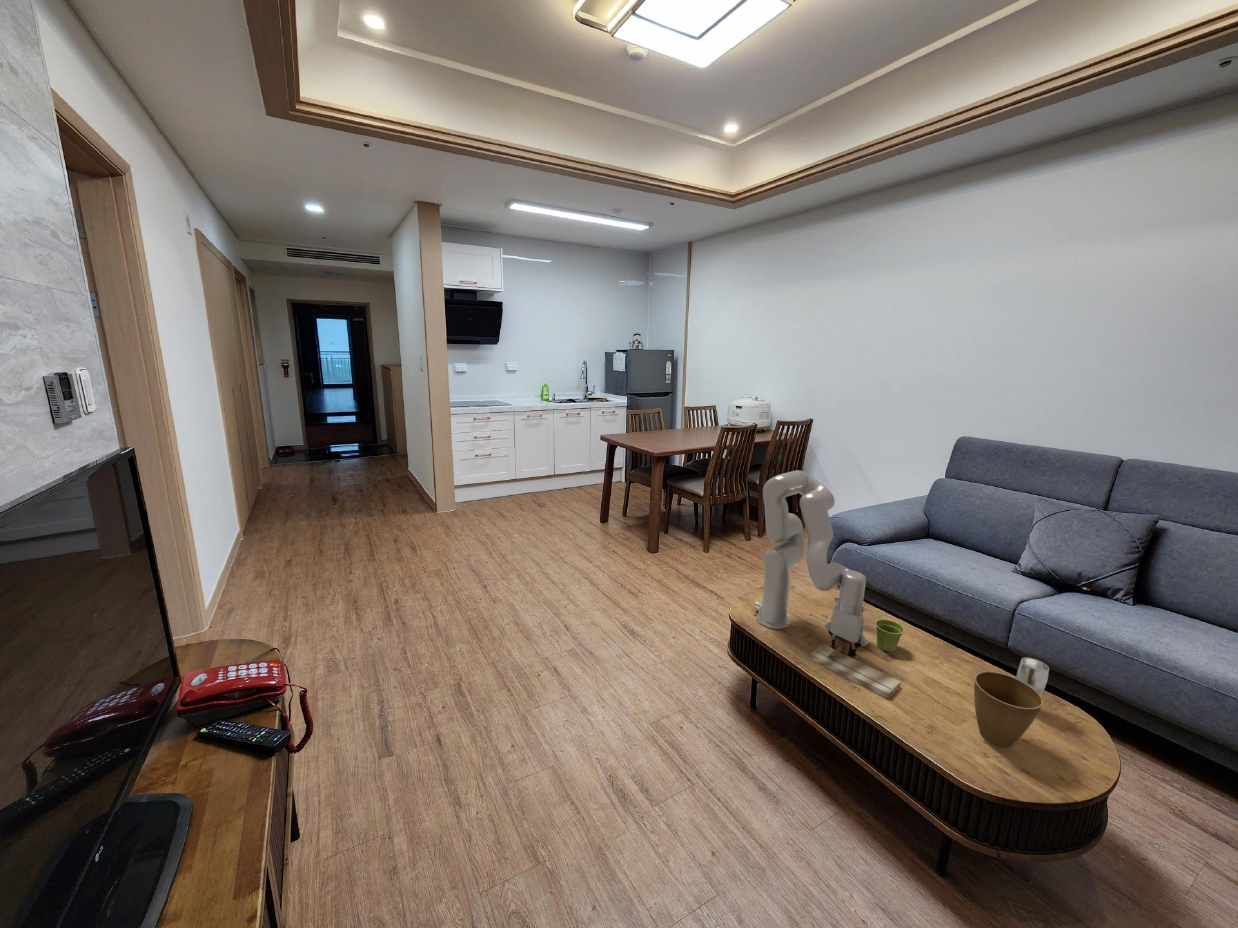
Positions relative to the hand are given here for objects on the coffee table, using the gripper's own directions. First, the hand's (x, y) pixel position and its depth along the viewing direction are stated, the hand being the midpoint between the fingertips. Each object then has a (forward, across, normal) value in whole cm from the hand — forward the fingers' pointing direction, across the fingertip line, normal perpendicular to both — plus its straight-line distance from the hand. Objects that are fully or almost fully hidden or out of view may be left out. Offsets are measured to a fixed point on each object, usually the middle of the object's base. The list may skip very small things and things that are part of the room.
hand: (843, 652), depth 176 cm
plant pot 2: (+1, +46, -4) cm, 46 cm away
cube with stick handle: (+1, 0, -4) cm, 4 cm away
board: (+1, +7, -7) cm, 10 cm away
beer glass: (+1, +48, +18) cm, 51 cm away
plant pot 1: (+1, +8, +17) cm, 19 cm away
